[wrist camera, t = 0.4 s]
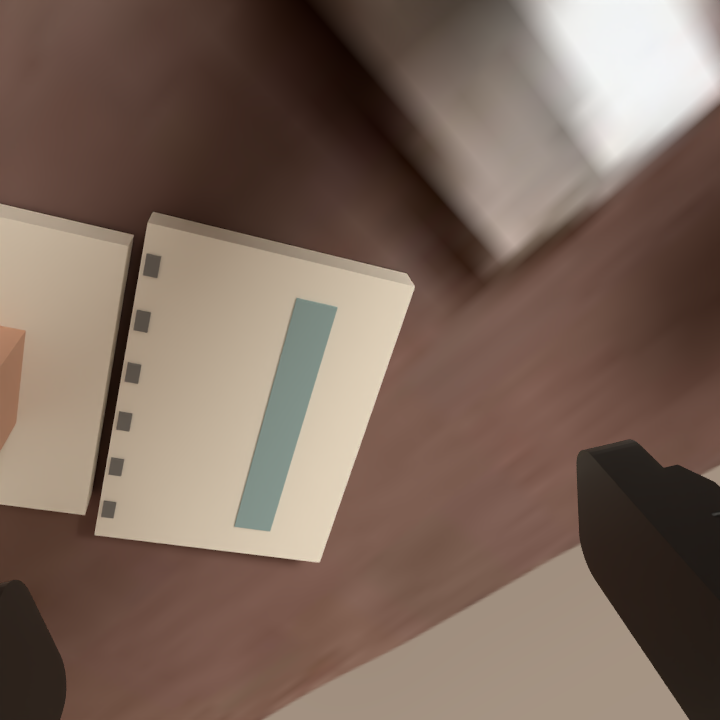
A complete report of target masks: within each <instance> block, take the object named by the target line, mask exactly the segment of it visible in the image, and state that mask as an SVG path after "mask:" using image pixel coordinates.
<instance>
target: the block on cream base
mask: <svg viewBox="0 0 720 720" xmlns="http://www.w3.org/2000/svg"><path fill="white" fill-rule="evenodd" d="M133 238H134V235H132V234H128V233H123V232H119V231H115V230H111V229H106V228H102V227H98V226H93V225H89V224H85V223H81V222H76V221H72V220H68V219H64V218H59V217H55V216H51V215H46V214H42V213H38V212H34V211H29V210H25V209H21V208H16V207H12V206H8V205H4V204H0V504H2V505H9V506H17V507H25V508H33V509H41V510H48V511H56V512H64V513H72V514H79V515H85V513H86V510H87V507H88V504H89V501H90V498H91V495H92V489H93V483H94V477H95V471H96V465H97V459H98V453H99V446H100V440H101V434H102V428H103V422H104V416H105V410H106V404H107V397H108V391H109V385H110V379H111V373H112V367H113V361H114V355H115V349H116V342H117V336H118V330H119V324H120V318H121V312H122V306H123V300H124V293H125V287H126V281H127V275H128V269H129V263H130V257H131V251H132V245H133Z"/></svg>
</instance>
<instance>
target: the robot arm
mask: <svg viewBox="0 0 720 720" xmlns="http://www.w3.org/2000/svg"><path fill="white" fill-rule="evenodd" d="M577 489H578V515H579V536H580V543H581V547H582V551H583V554H584V557H585V560H586V563H587V565H588V567H589V569H590V572H591V574H592V575H593V577H594V579H595V580H596V582H597V583H598V585H599V586H600V588H601V589H602V591H603V592H604V594H605V595H606V597H607V598H608V600H609V601H610V603H611V604H612V605H613V607H614V608H615V610H616V611H617V613H618V614H619V616H620V617H621V619H622V620H623V622H624V623H625V625H626V626H627V628H628V629H629V631H630V632H631V634H632V635H633V637H634V638H635V640H636V641H637V643H638V644H639V646H640V647H641V649H642V650H643V651H644V653H645V654H646V656H647V657H648V659H649V660H650V662H651V663H652V665H653V666H654V668H655V669H656V671H657V672H658V674H659V675H660V676H661V678H662V680H663V681H664V683H665V684H666V686H667V687H668V689H669V690H670V692H671V693H672V694H673V696H674V697H675V699H676V700H677V702H678V703H679V705H680V706H681V708H682V709H683V711H684V712H685V714H686V715H687V717H688V718H689V720H720V487H719V486H718V485H717V484H716V483H715V482H713V481H711V480H709V479H707V478H705V477H703V476H701V475H699V474H696V473H694V472H692V471H690V470H688V469H686V468H684V467H681V466H679V465H674V466H670V467H666V468H663V467H662V466H661V465H660V464H659V463H658V462H657V461H656V460H655V459H654V458H653V457H652V456H651V455H650V454H649V453H648V452H647V451H646V450H645V449H644V448H643V447H642V446H641V445H640V444H638V443H637V442H636V441H634V440H631V439H629V440H625V441H620V442H616V443H612V444H607V445H603V446H599V447H594V448H590V449H586V450H581V451H580V452H579V454H578V456H577ZM65 698H66V675H65V669H64V664H63V661H62V658H61V656H60V653H59V651H58V649H57V647H56V645H55V643H54V641H53V639H52V637H51V635H50V633H49V631H48V629H47V627H46V625H45V623H44V621H43V619H42V617H41V615H40V612H39V610H38V608H37V606H36V604H35V602H34V600H33V598H32V596H31V594H30V592H29V590H28V588H27V587H26V586H25V584H23V583H22V582H21V581H19V580H12V581H8V582H3V583H0V720H60V718H61V715H62V711H63V708H64V704H65Z"/></svg>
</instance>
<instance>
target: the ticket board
mask: <svg viewBox="0 0 720 720" xmlns="http://www.w3.org/2000/svg"><path fill="white" fill-rule="evenodd" d="M414 288H415V286H414V284H413V283H412V281H411V279H410V278H409V276H408V275H407V274H406V273H402V272H398V271H394V270H390V269H386V268H382V267H378V266H374V265H369V264H365V263H361V262H357V261H353V260H349V259H345V258H341V257H337V256H333V255H329V254H324V253H320V252H316V251H312V250H308V249H304V248H300V247H296V246H292V245H288V244H283V243H279V242H275V241H271V240H267V239H263V238H259V237H255V236H251V235H247V234H242V233H238V232H234V231H230V230H226V229H222V228H218V227H214V226H210V225H206V224H201V223H197V222H193V221H189V220H185V219H181V218H177V217H173V216H169V215H165V214H160V213H156V212H152V214H151V216H150V218H149V221H148V223H147V229H146V235H145V240H144V246H143V252H142V258H141V264H140V270H139V276H138V281H137V287H136V293H135V299H134V305H133V311H132V317H131V323H130V328H129V334H128V340H127V346H126V352H125V358H124V364H123V370H122V375H121V381H120V387H119V393H118V399H117V405H116V411H115V416H114V422H113V428H112V434H111V440H110V446H109V452H108V458H107V463H106V469H105V475H104V481H103V487H102V493H101V499H100V504H99V510H98V516H97V522H96V528H95V534H94V535H97V536H105V537H114V538H122V539H130V540H138V541H146V542H155V543H163V544H171V545H179V546H188V547H196V548H204V549H212V550H220V551H229V552H237V553H245V554H253V555H261V556H270V557H278V558H286V559H294V560H302V561H311V562H319V563H320V560H321V557H322V554H323V551H324V548H325V545H326V542H327V539H328V537H329V534H330V531H331V528H332V525H333V522H334V519H335V516H336V513H337V511H338V508H339V505H340V502H341V499H342V496H343V493H344V490H345V487H346V485H347V482H348V479H349V476H350V473H351V470H352V467H353V464H354V461H355V459H356V456H357V453H358V450H359V447H360V444H361V441H362V438H363V435H364V433H365V430H366V427H367V424H368V421H369V418H370V415H371V412H372V410H373V407H374V404H375V401H376V398H377V395H378V392H379V389H380V386H381V384H382V381H383V378H384V375H385V372H386V369H387V366H388V363H389V360H390V358H391V355H392V352H393V349H394V346H395V343H396V340H397V337H398V334H399V332H400V329H401V326H402V323H403V320H404V317H405V314H406V311H407V308H408V306H409V303H410V300H411V297H412V294H413V291H414Z"/></svg>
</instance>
